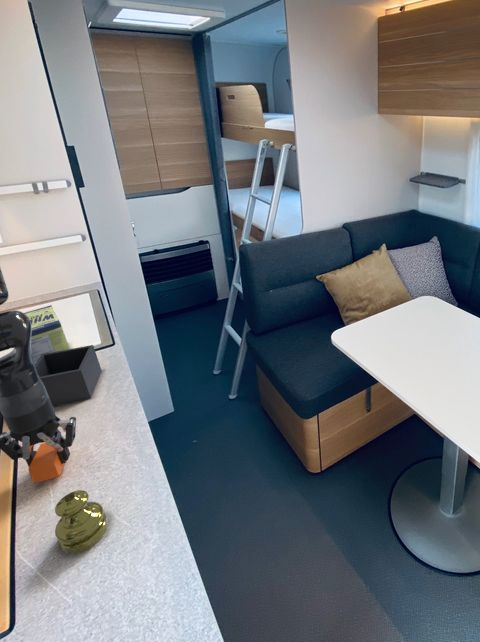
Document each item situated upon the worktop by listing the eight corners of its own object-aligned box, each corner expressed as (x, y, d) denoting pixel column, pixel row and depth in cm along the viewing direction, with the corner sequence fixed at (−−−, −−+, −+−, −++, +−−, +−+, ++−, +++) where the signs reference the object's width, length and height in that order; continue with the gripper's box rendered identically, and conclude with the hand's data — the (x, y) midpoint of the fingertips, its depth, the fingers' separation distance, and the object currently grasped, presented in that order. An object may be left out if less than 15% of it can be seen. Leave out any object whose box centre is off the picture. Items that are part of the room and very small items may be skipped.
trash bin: (36, 411, 108) (23, 381, 104) (52, 382, 119) (41, 354, 115) (91, 399, 112) (80, 370, 108) (102, 372, 123) (93, 344, 119)
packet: (59, 476, 88) (53, 462, 86) (34, 482, 86) (27, 469, 85) (69, 451, 94) (64, 438, 92) (46, 457, 92) (40, 443, 91)
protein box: (66, 345, 136) (51, 304, 130) (76, 365, 126) (60, 321, 120) (27, 358, 130) (9, 316, 124) (34, 381, 119) (15, 336, 113)
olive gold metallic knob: (66, 525, 79) (50, 489, 75) (111, 510, 82) (97, 474, 78) (57, 562, 73) (38, 525, 69) (105, 544, 76) (90, 507, 72)
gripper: (71, 383, 88) (93, 442, 95) (-10, 399, 84) (19, 460, 91) (60, 406, 82) (84, 468, 89) (-29, 425, 78) (4, 488, 84)
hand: (51, 463), depth 90 cm, fingers closed on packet, 4 cm apart
